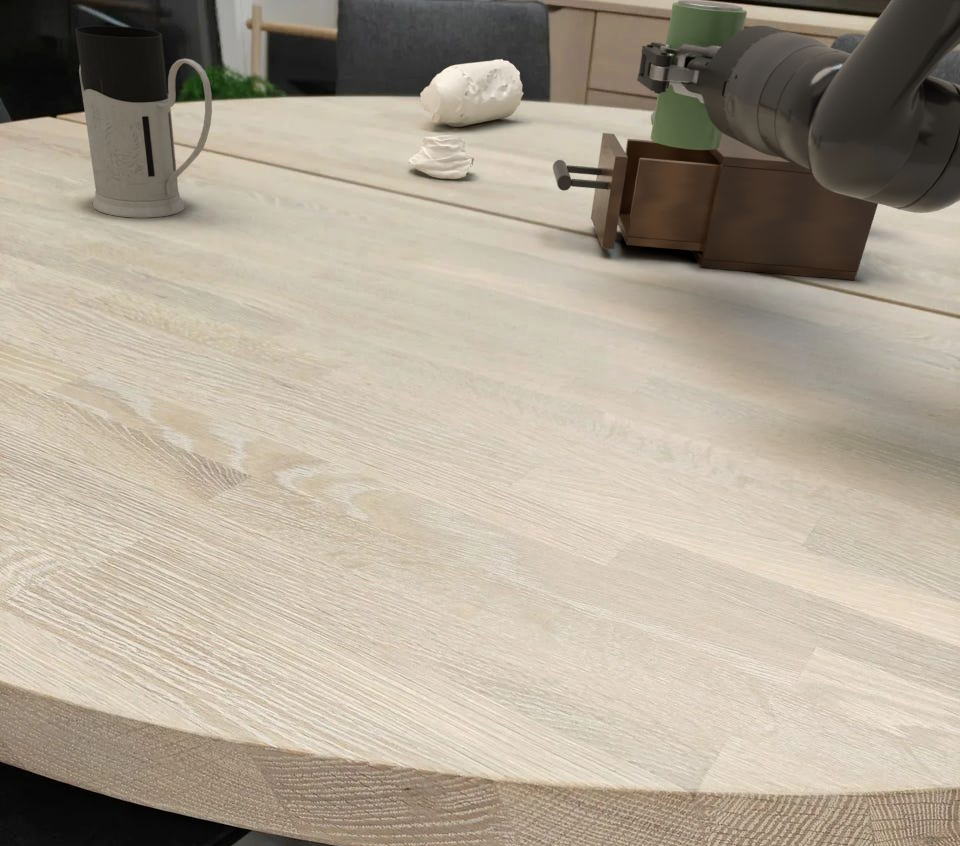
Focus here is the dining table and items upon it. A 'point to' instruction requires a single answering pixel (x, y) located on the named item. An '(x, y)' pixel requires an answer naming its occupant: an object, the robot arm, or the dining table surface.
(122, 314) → the dining table surface
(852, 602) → the dining table surface
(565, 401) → the dining table surface
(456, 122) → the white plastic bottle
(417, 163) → the whipped cream
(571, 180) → the drawer
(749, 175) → the cabinet
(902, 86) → the robot arm
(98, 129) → the glass holder
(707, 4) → the can
